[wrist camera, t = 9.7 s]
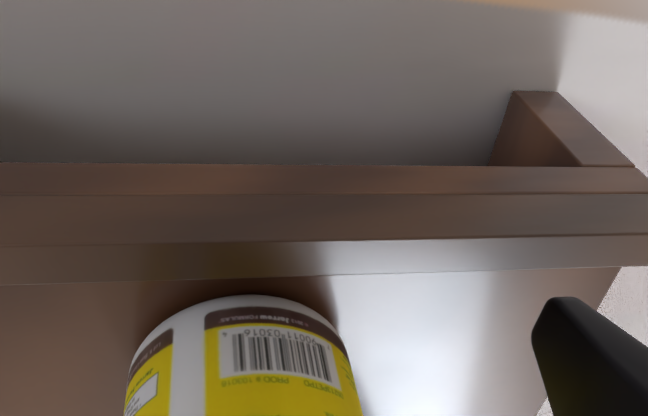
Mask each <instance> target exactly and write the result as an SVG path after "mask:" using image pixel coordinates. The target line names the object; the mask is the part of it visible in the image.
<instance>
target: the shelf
mask: <svg viewBox="0 0 648 416" xmlns="http://www.w3.org/2000/svg"><path fill="white" fill-rule="evenodd" d="M627 266H648V178H647V177H646V176H645V175H644V174H643V173H642V172H641V171H640V170H639V169H637V168H635V165H634V164H633V163H632V162H631V161H630V160H629V159H628V158H627V157H626V156H625V155H623V154H622V153H621V152H620V151H619V150H618V149H617V148H616V147H615V146H614V145H613V144H612V143H611V142H610V141H609V140H608V139H607V138H606V137H604V136H603V135H602V134H601V133H600V132H599V131H598V130H597V129H596V128H595V127H594V126H593V125H592V124H591V123H590V122H589V121H588V120H587V119H586V118H584V117H583V116H582V115H581V114H580V113H579V112H578V111H577V110H576V109H575V108H574V107H573V106H572V105H571V104H570V103H569V102H568V101H567V100H565V99H564V98H563V97H562V96H561V95H560V94H559V93H558V92H539V91H513V92H512V94H511V97H510V100H509V103H508V106H507V109H506V112H505V115H504V118H503V121H502V124H501V127H500V130H499V133H498V136H497V139H496V142H495V145H494V148H493V151H492V153H491V156H490V159H489V162H488V165H487V166H399V165H275V164H151V163H27V162H0V416H123V414H124V407H125V399H126V390H127V382H128V376H129V370H130V366H131V363H132V360H133V358H134V356H135V354H136V352H137V350H138V348H139V347H140V345H141V344H142V343H143V341H144V340H145V339H146V337H147V336H148V335H149V334H150V333H151V332H152V331H153V330H154V329H155V328H156V327H157V326H158V325H160V324H161V323H162V322H163V321H165V320H166V319H168V318H170V317H171V316H173V315H174V314H176V313H178V312H180V311H182V310H184V309H186V308H188V307H191V306H193V305H196V304H198V303H201V302H204V301H208V300H212V299H216V298H221V297H227V296H235V295H266V296H273V297H280V298H284V299H288V300H291V301H294V302H297V303H300V304H302V305H304V306H306V307H308V308H310V309H312V310H314V311H315V312H317V313H318V314H320V315H321V316H322V317H324V318H325V319H326V320H327V321H328V322H329V323H330V324H331V325H332V326H333V327H334V328H335V330H336V331H337V332H338V334H339V335H340V337H341V339H342V341H343V343H344V345H345V348H346V351H347V354H348V358H349V361H350V364H351V370H352V373H353V377H354V381H355V385H356V389H357V393H358V397H359V401H360V405H361V409H362V414H363V416H536V415H537V413H538V411H539V410H540V408H541V406H542V404H543V403H544V401H545V399H546V398H547V393H546V390H545V387H544V383H543V380H542V377H541V374H540V370H539V367H538V364H537V361H536V358H535V354H534V351H533V348H532V344H531V333H532V329H533V327H534V325H535V323H536V321H537V319H538V317H539V315H540V313H541V311H542V309H543V307H544V305H545V303H546V302H547V300H549V299H550V298H552V297H568V296H571V297H576V298H578V299H580V300H581V301H583V302H584V303H586V304H587V305H588V306H590V307H591V308H593V309H594V310H596V311H597V309H598V307H599V305H600V304H601V302H602V300H603V298H604V297H605V295H606V293H607V291H608V290H609V288H610V286H611V284H612V283H613V281H614V279H615V278H616V276H617V274H618V272H619V271H620V269H621V267H627Z"/></svg>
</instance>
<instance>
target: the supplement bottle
mask: <svg viewBox="0 0 648 416" xmlns="http://www.w3.org/2000/svg"><path fill="white" fill-rule="evenodd" d="M123 416H363V414H362V409H361V405H360V401H359V397H358V393H357V389H356V385H355V381H354V377H353V373H352V370H351V364H350V361H349V358H348V354H347V351H346V348H345V345H344V343H343V341H342V339H341V337H340V335H339V334H338V332H337V331H336V330H335V328H334V327H333V326H332V325H331V324H330V323H329V322H328V321H327V320H326V319H325V318H324V317H322V316H321V315H320V314H318V313H317V312H315V311H314V310H312V309H310V308H308V307H306V306H304V305H302V304H300V303H297V302H294V301H291V300H288V299H284V298H280V297H273V296H266V295H235V296H227V297H221V298H216V299H212V300H208V301H204V302H201V303H198V304H196V305H193V306H191V307H188V308H186V309H184V310H182V311H180V312H178V313H176V314H174V315H173V316H171V317H170V318H168V319H166V320H165V321H163V322H162V323H161V324H160V325H158V326H157V327H156V328H155V329H154V330H153V331H152V332H151V333H150V334H149V335H148V336H147V337H146V339H145V340H144V341H143V343H142V344H141V345H140V347H139V348H138V350H137V352H136V354H135V356H134V358H133V360H132V363H131V366H130V370H129V376H128V382H127V390H126V399H125V407H124V414H123Z"/></svg>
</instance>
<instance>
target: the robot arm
mask: <svg viewBox="0 0 648 416" xmlns="http://www.w3.org/2000/svg"><path fill="white" fill-rule="evenodd" d="M531 344H532V348H533V351H534V354H535V358H536V361H537V364H538V367H539V370H540V374H541V377H542V380H543V383H544V387H545V390H546V393H547V396H548V399H549V403H550V406H551V409H552V412H553V415H554V416H648V347H646V346H645V345H644V344H642V343H641V342H639V341H638V340H637V339H635V338H634V337H632V336H631V335H629V334H628V333H627V332H625V331H624V330H622V329H621V328H620V327H618V326H617V325H615V324H614V323H612V322H611V321H610V320H608V319H607V318H605V317H604V316H603V315H601V314H600V313H598V312H597V311H596V310H594V309H593V308H591V307H590V306H588V305H587V304H586V303H584V302H583V301H581V300H580V299H578V298H576V297H571V296H568V297H552V298H550V299H549V300H547V302H546V303H545V305H544V307H543V309H542V311H541V313H540V315H539V317H538V319H537V321H536V323H535V325H534V327H533V329H532V333H531Z"/></svg>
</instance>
